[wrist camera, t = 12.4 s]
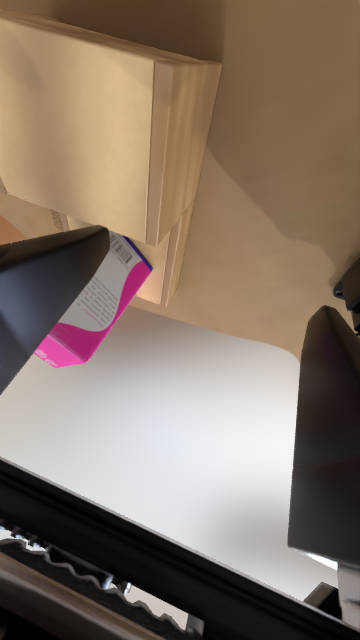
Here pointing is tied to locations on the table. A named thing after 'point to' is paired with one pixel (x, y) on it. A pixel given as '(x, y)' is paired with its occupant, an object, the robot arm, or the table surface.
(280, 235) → the table surface
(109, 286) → the supplement box
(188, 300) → the table surface
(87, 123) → the shelf
